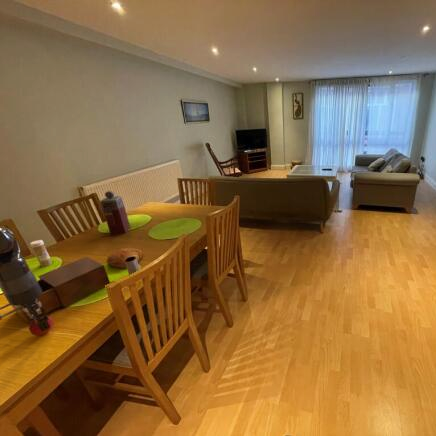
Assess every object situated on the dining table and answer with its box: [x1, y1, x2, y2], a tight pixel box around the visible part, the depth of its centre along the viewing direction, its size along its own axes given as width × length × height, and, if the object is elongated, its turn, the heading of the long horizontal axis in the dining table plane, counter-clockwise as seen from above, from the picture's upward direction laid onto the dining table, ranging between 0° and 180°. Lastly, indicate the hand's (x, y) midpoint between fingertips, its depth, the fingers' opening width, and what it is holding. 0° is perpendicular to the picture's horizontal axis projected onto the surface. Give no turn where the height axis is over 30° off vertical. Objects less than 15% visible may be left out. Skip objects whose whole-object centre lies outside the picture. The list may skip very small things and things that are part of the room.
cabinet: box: [37, 256, 111, 309], centre depth 102 cm, size 17×15×11 cm
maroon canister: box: [99, 190, 131, 235], centre depth 154 cm, size 9×11×28 cm
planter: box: [125, 257, 141, 276], centre depth 111 cm, size 4×4×10 cm
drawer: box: [0, 279, 62, 325], centre depth 92 cm, size 21×14×9 cm, turn 152°
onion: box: [28, 316, 55, 336], centre depth 82 cm, size 6×6×8 cm
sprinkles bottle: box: [29, 239, 53, 268], centre depth 121 cm, size 5×5×13 cm
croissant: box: [106, 247, 143, 269], centre depth 125 cm, size 14×16×8 cm
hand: (42, 325), depth 82 cm, fingers closed on onion, 5 cm apart
